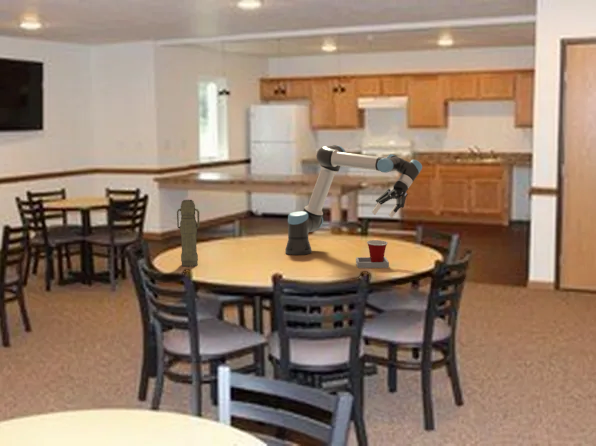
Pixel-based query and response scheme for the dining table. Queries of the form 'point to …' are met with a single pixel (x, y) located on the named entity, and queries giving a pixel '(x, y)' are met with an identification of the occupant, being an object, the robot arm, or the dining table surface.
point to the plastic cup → (377, 250)
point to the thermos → (188, 233)
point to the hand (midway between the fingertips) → (381, 214)
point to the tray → (371, 263)
